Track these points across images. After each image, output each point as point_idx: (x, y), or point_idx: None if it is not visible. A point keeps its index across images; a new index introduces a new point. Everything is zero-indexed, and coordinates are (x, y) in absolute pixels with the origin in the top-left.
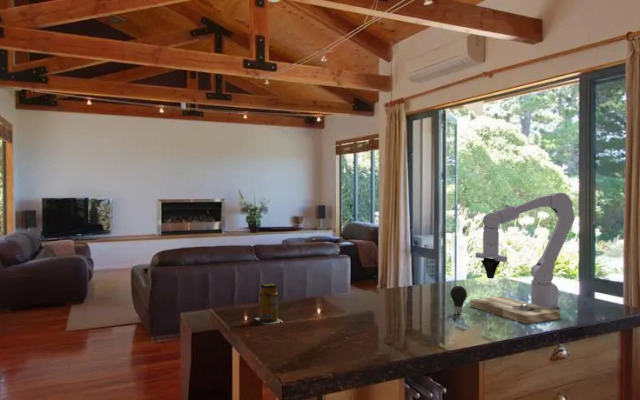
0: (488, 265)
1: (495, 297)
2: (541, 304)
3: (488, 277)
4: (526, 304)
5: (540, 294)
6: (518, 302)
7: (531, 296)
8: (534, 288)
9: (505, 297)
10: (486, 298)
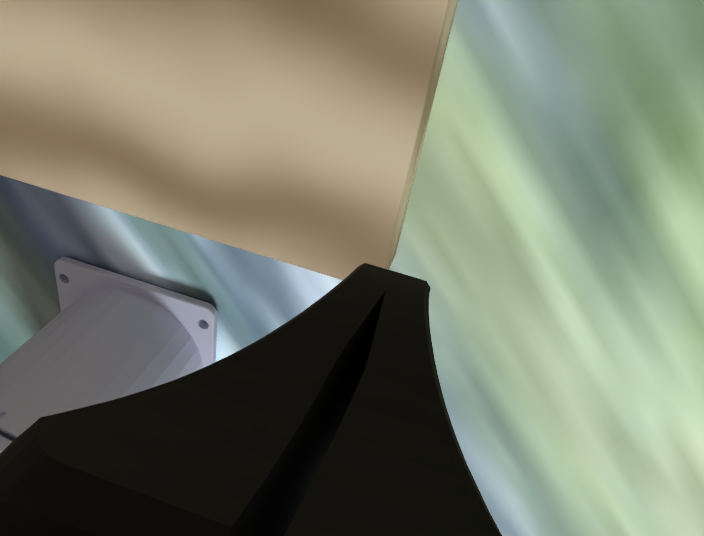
0: (221, 417)
1: (382, 181)
2: (74, 302)
3: (390, 275)
4: (13, 120)
5: (18, 352)
6: (100, 141)
7: (137, 361)
8: (32, 393)
9: (319, 263)
10: (415, 26)
